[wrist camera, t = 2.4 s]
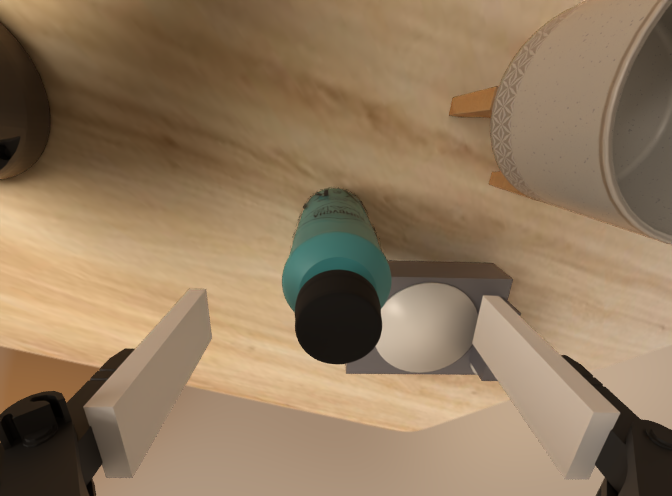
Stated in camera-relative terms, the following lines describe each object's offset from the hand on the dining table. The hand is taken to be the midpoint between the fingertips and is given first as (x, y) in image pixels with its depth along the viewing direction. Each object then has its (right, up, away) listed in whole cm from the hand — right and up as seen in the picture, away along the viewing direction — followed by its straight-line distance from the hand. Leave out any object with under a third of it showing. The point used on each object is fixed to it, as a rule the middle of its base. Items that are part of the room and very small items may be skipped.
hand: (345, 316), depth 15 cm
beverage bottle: (-1, +7, +17) cm, 19 cm away
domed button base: (+9, -4, +21) cm, 23 cm away
